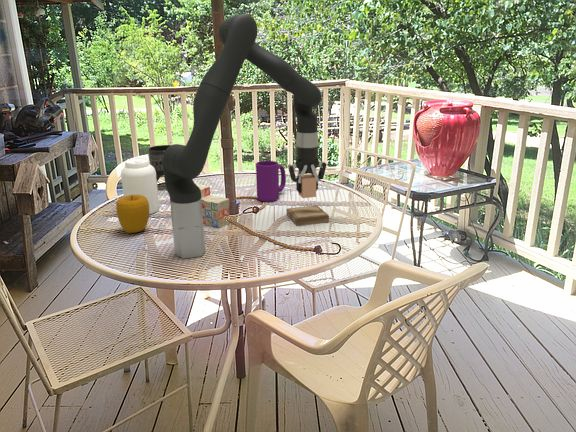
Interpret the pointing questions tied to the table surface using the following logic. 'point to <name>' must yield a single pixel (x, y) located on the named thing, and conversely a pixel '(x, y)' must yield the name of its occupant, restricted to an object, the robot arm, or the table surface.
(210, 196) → the stack of blocks
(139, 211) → the apple
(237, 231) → the table surface
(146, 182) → the white jar
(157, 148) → the planter
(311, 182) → the block
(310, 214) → the base
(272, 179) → the mug
